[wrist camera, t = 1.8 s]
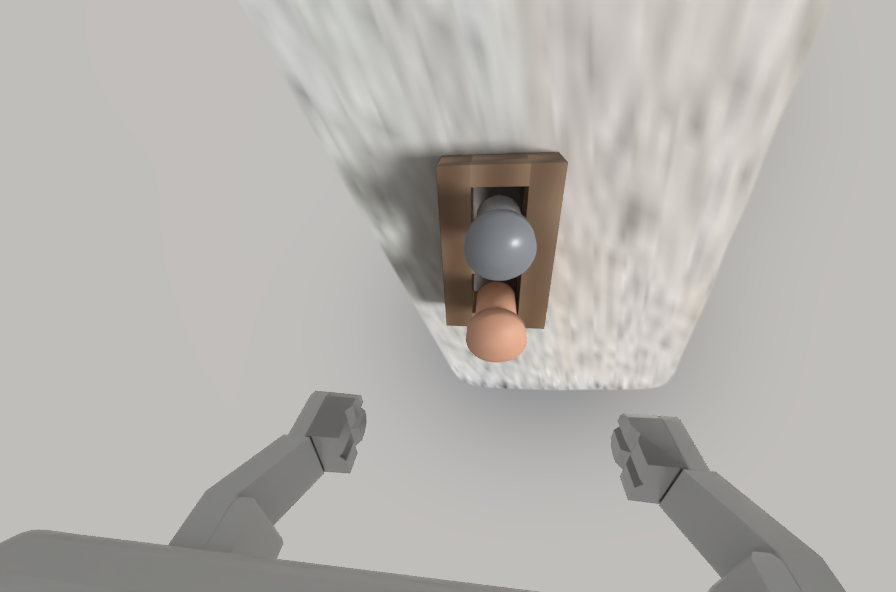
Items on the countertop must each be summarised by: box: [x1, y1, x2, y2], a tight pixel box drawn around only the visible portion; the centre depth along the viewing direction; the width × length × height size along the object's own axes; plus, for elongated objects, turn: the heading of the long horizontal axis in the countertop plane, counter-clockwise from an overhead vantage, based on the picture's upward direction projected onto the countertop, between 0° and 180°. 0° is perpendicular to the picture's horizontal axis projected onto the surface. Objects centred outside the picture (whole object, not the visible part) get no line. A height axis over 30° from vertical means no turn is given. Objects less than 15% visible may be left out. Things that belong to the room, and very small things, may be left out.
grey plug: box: [464, 195, 537, 281], centre depth 24 cm, size 5×5×6 cm
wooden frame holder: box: [436, 152, 568, 329], centre depth 31 cm, size 10×16×4 cm, turn 3°
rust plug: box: [466, 282, 527, 362], centre depth 29 cm, size 5×5×6 cm
